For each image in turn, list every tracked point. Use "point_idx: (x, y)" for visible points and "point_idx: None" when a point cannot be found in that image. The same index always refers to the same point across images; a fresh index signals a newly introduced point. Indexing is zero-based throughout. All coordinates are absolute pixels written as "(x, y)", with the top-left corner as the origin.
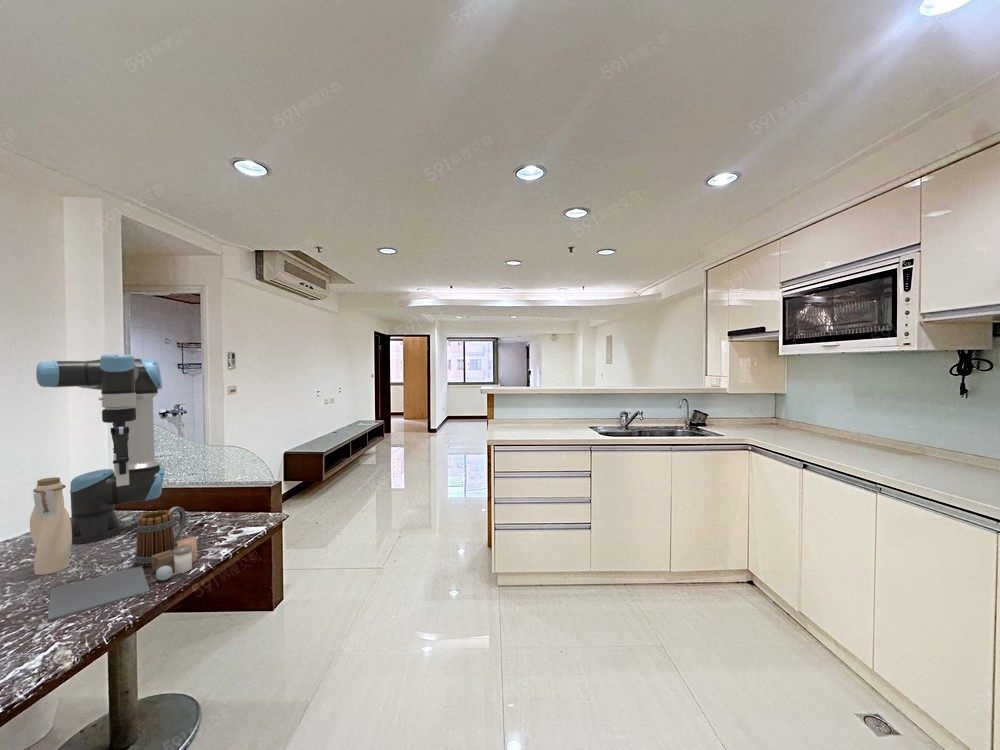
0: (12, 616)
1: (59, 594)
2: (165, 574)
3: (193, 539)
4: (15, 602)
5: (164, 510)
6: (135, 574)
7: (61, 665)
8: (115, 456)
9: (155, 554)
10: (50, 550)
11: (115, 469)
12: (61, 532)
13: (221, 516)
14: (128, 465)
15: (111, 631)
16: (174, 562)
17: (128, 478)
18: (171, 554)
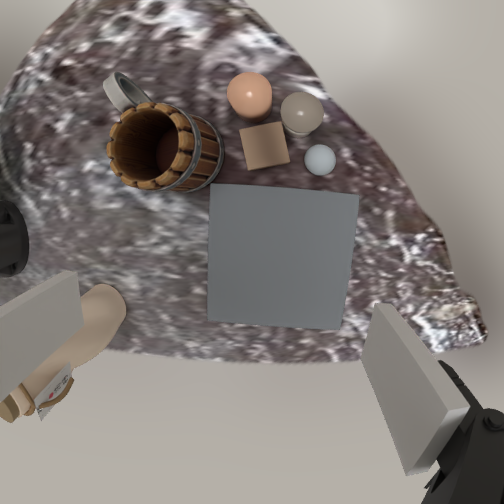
0: (274, 360)
1: (247, 313)
2: (335, 161)
3: (254, 78)
4: (219, 355)
5: (123, 117)
6: (252, 200)
7: (465, 312)
8: (4, 387)
9: (216, 157)
10: (111, 330)
11: (60, 339)
12: None
13: (49, 40)
14: (453, 383)
15: (441, 264)
16: (301, 134)
17: (406, 326)
18: (276, 133)
